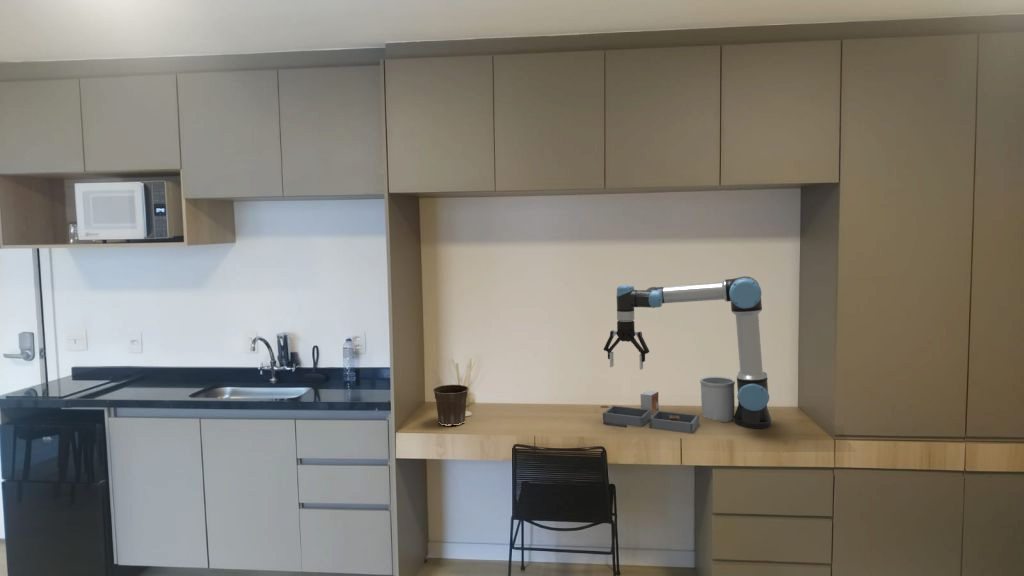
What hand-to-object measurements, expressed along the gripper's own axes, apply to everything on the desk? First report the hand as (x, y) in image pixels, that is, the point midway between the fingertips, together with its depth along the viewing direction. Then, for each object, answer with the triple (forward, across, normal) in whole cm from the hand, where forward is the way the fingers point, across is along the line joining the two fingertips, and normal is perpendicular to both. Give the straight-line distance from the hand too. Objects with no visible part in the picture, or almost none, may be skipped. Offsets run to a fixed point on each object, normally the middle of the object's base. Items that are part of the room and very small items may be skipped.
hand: (626, 367), depth 260 cm
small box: (+25, -6, -15) cm, 30 cm away
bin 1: (+25, 0, 0) cm, 25 cm away
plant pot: (+25, +73, +32) cm, 84 cm away
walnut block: (+24, -21, 0) cm, 32 cm away
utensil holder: (+25, -35, -22) cm, 48 cm away
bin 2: (+25, -21, 0) cm, 32 cm away
